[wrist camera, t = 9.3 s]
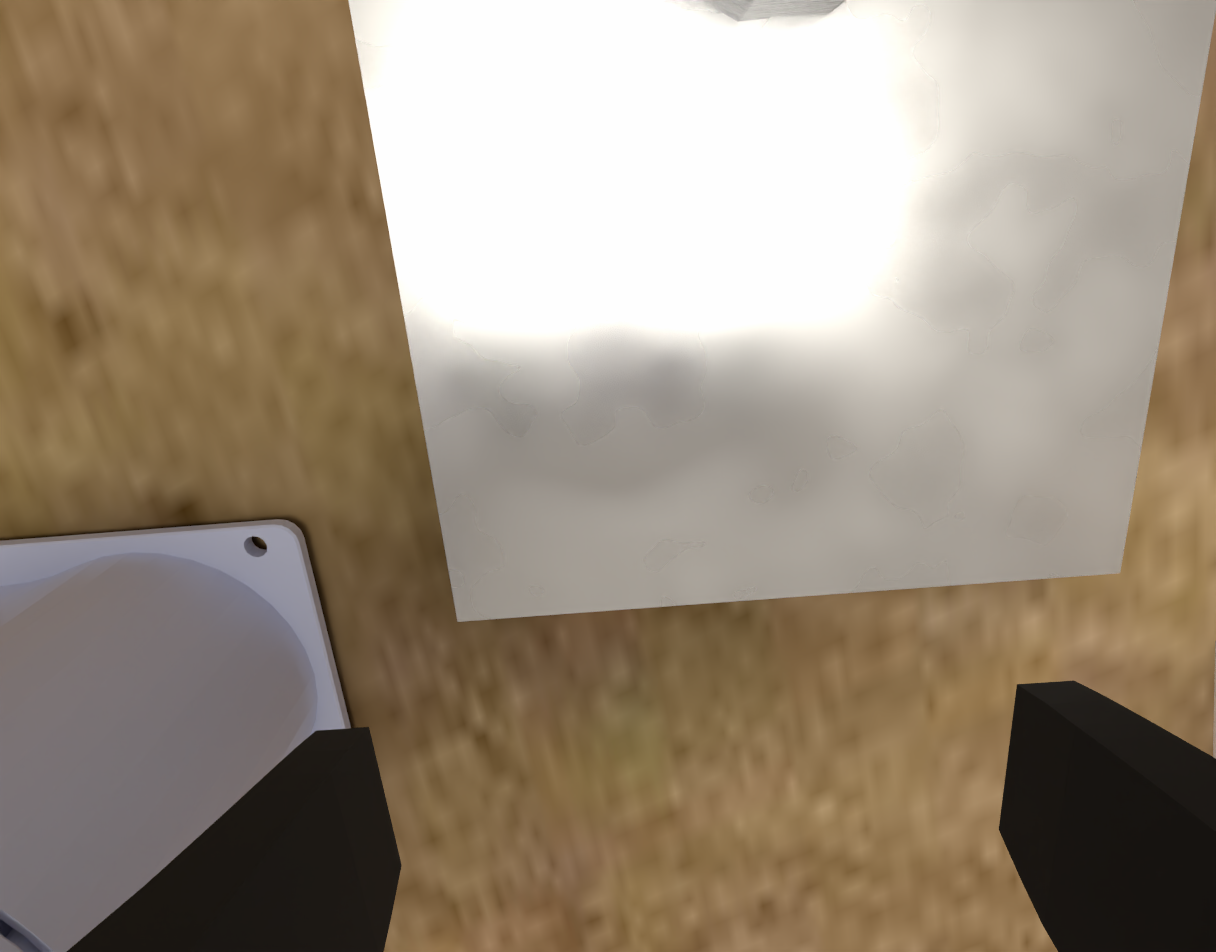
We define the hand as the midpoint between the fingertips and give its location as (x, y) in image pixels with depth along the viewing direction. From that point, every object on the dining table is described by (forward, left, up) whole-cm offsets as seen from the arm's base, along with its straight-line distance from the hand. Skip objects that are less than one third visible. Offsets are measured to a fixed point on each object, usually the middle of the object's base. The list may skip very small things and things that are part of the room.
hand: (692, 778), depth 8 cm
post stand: (+3, +8, -9) cm, 13 cm away
